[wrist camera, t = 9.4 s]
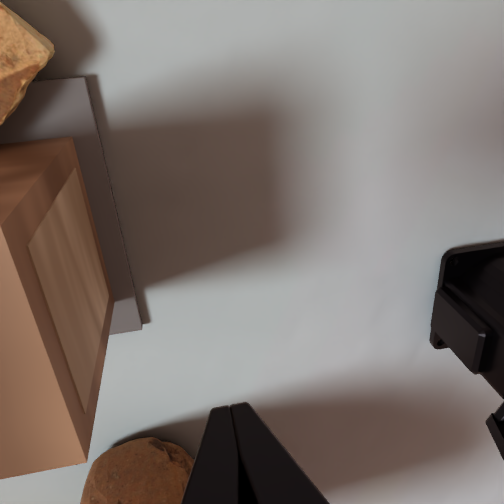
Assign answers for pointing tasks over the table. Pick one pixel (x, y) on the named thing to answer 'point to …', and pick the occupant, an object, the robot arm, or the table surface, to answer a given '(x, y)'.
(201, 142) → the table surface
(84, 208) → the slab
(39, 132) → the mat
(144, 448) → the brown oblong lump
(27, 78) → the shard
